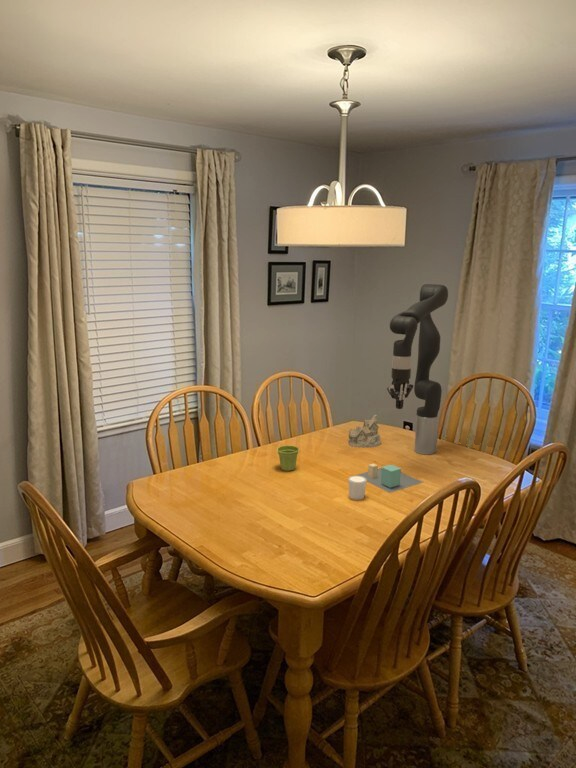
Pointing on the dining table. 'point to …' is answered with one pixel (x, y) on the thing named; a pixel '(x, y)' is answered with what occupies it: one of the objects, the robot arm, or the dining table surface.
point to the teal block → (390, 475)
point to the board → (375, 479)
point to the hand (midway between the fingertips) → (399, 408)
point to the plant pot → (288, 457)
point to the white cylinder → (357, 487)
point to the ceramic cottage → (365, 434)
